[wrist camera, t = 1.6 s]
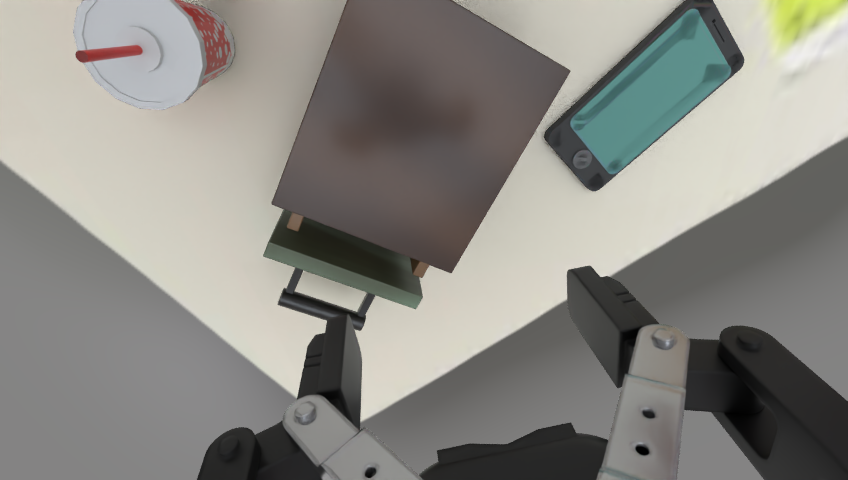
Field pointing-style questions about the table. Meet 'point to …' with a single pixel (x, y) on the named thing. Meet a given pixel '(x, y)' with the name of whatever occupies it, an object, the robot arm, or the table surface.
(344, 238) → the drawer
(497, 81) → the cabinet
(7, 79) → the table surface
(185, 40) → the beverage cup
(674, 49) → the smartphone
